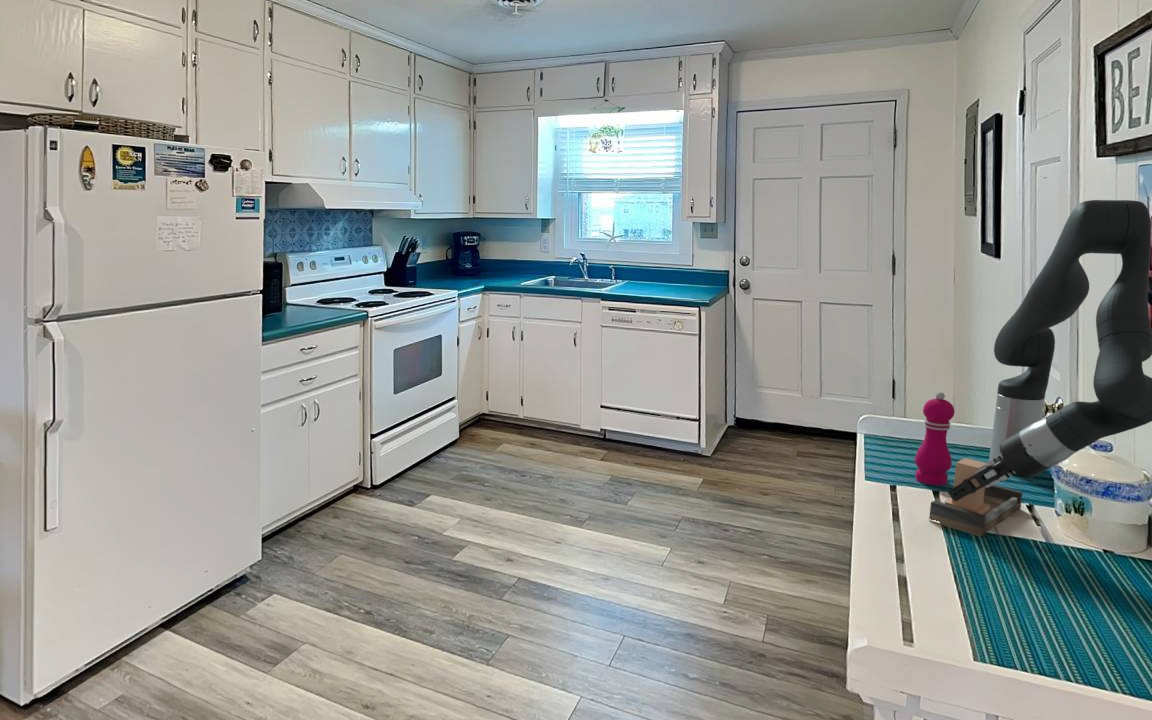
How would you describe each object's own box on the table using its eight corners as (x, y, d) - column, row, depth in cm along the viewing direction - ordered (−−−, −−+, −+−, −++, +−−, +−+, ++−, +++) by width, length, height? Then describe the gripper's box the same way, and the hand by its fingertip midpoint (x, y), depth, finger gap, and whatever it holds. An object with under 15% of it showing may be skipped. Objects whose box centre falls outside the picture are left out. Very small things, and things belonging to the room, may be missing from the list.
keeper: (954, 505, 135) (960, 456, 133) (988, 515, 131) (994, 464, 129) (943, 512, 132) (949, 461, 130) (977, 522, 127) (984, 469, 126)
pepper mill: (954, 487, 149) (964, 396, 146) (917, 484, 151) (927, 394, 147) (943, 476, 156) (953, 389, 153) (909, 473, 158) (917, 387, 154)
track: (971, 496, 145) (973, 479, 144) (1020, 509, 138) (1022, 491, 137) (929, 520, 132) (931, 502, 131) (980, 536, 125) (982, 517, 124)
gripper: (1036, 422, 127) (963, 466, 138) (1008, 436, 118) (931, 482, 129) (1067, 457, 124) (989, 499, 135) (1039, 474, 115) (958, 518, 126)
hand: (961, 491), depth 132 cm, fingers open, 8 cm apart
